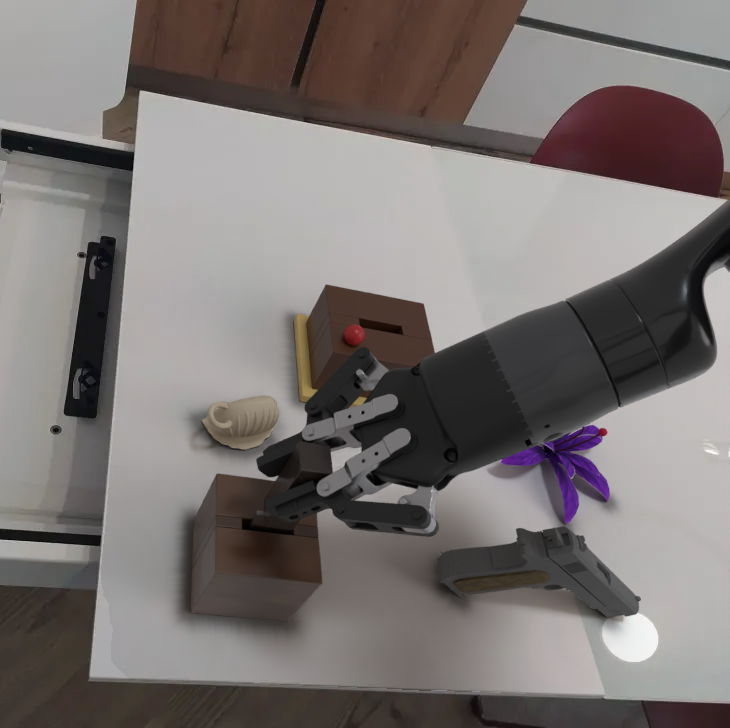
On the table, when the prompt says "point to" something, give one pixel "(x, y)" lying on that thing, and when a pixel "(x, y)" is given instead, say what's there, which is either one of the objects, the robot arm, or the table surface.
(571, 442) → the decorative flower
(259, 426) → the decorative ornament
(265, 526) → the knife
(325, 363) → the cake
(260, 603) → the knife block
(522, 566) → the handgun
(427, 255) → the table surface
